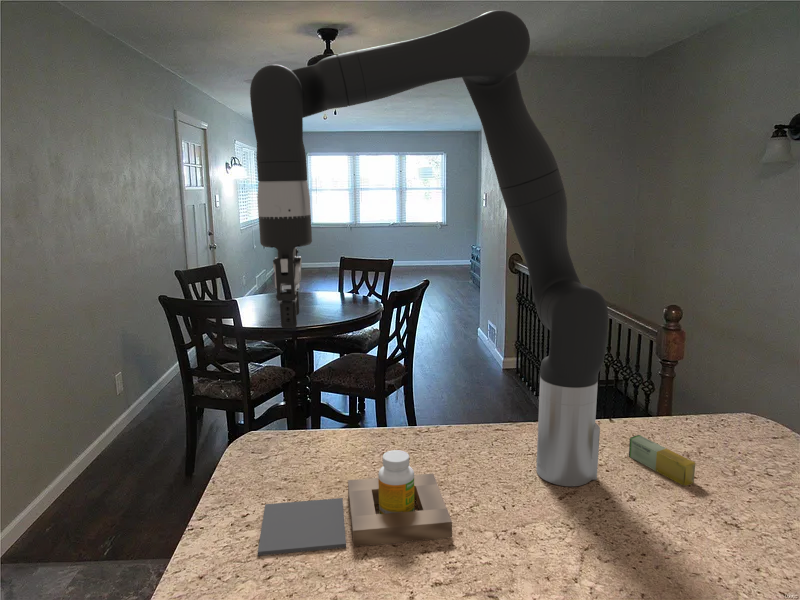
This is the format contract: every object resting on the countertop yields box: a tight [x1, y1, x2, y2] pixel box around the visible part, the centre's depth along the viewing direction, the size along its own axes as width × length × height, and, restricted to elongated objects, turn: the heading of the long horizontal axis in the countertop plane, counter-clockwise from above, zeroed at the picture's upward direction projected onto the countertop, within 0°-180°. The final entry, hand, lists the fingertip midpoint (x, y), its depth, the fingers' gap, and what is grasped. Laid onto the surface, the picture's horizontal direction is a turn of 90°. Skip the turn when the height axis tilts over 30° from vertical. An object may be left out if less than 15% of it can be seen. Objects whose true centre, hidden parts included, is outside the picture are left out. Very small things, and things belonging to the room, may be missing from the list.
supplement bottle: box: [377, 449, 415, 514], centre depth 89 cm, size 5×5×10 cm
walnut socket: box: [347, 473, 453, 548], centre depth 90 cm, size 14×14×2 cm
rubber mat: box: [257, 497, 347, 557], centre depth 87 cm, size 12×12×1 cm
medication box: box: [628, 434, 696, 487], centre depth 103 cm, size 12×3×4 cm, turn 26°
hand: (290, 320), depth 90 cm, fingers open, 8 cm apart
